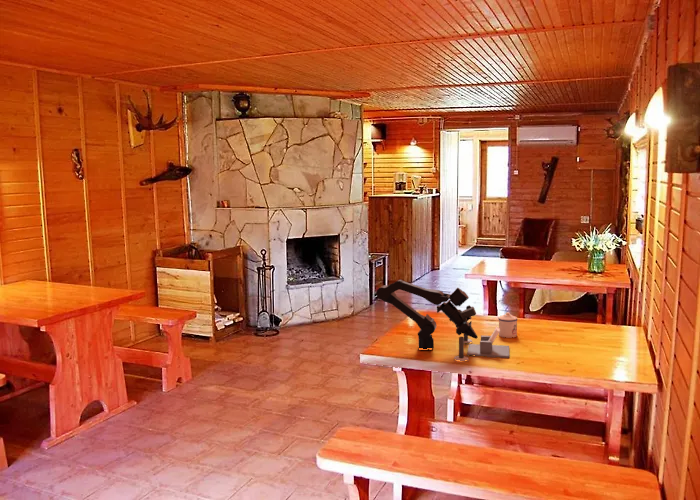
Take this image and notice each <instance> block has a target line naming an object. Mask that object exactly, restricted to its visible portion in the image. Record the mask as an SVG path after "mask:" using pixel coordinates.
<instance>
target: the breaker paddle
mask: <svg viewBox="0 0 700 500" xmlns="http://www.w3.org/2000/svg"><path fill="white" fill-rule="evenodd" d="M499 332H500V328H499V326H495V328H494V330H493V332H492V333H491V335H489V336H490V338H489V340H488V341H492V344H493V343H494V342H495V339H496V338H497V336H499Z"/></svg>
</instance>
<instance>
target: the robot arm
mask: <svg viewBox="0 0 700 500" xmlns="http://www.w3.org/2000/svg"><path fill="white" fill-rule="evenodd" d="M399 290H400V291H403V292H406V293H409V294H412V295H415V296H418V297H421V298H423V299H425V300H426V301H427V302H429V303H431V304H433V305H434V306H436V313H437V314H439V312H442V313H443V314H445V316H446V317H447V318H448V319H449V321H450V322H452V323H453V324H454V325H455V328H456V330H455V333H456V335H458V336H461V335H462V334H463V335H464V334H465V335H468V337H470V338H473V339H475V340H477V339H478V334H477V333H476V332H475V330H474V327H473V326H472V320H471V319H472V317H474V316H476V315H477V312H476V309H475V307H474V306H471V305H470V304H468V305H466V307H465V308H466V309H464V310H462V309H458V308H457V307H461V306H462V305H463V304H464V303H465V302H466V301H468V299H469V298H470V297H469V296H468V294H467V292H465V291H463V290H462V289H461V288H459V287H456V288H455V290H454V291H453V292H452V293H444V292H443V291H442V290H439V289H433V288H425V287H422V286H419V285H417V284H413V283H410V282H407V281H404V280H403V279H398V280H397V281H394V282H391V283H390V284H388V285H386V284H385V285H384V284H383V285H381V286H380V287H379V288H378V289H377V290H376V293H375V294H376V297H377V298H378V299H379V300H380V301H382V302H385V303H387V304H390V305H392V306H393V307H395V308H396V309H398V311H400V312H402V313H403V314H404V315H405V316H406V317H408V318H410V319H411V320H412V321H413V322H415V323H416V325H417V326H418V327H419V331H418V332H417V336H418V346H419V348H423V349H427V348H433V349H434V348H435V347H434V345H435V344H434V341H435V339H434V338H433V335H432V334H433V333H434V332H435V331H436V329H437V322H436V321H435V318H433V317H431V316H430V314H428V313H427V314H426V315H423V314H421V313H419V312H418V311H417V310H415V309H414V308H413V307H412V306H411V305H409V304H408V303H406V302H405V301H404V300H403V299H401V298H400V297H398V296H397V294H396V293H395V292H396V291H399ZM469 320H471V321H469Z"/></svg>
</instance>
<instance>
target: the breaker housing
mask: <svg viewBox="0 0 700 500" xmlns="http://www.w3.org/2000/svg"><path fill="white" fill-rule="evenodd" d="M490 336H491V335H480V340H479V344H475V343H472V344H468V348H467V352H466V356H467V355H475V356H487V357H486V358H496V357H500V359H504V358H505V359H510V345H497V344H493V343H492V341H488V340H489V338H490ZM475 356H474V357H475Z"/></svg>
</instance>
